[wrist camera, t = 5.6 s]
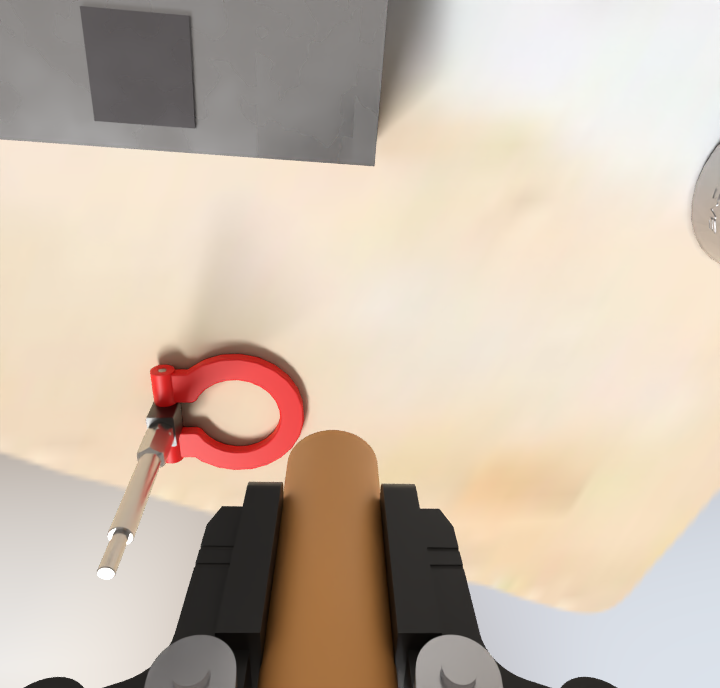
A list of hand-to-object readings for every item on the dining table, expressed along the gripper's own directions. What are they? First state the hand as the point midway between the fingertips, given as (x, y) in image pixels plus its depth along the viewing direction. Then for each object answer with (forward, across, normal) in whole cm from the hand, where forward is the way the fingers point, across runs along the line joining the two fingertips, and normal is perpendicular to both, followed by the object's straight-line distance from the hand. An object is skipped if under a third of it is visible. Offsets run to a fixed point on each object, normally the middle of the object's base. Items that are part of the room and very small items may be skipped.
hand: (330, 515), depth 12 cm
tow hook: (+21, +6, +11) cm, 25 cm away
